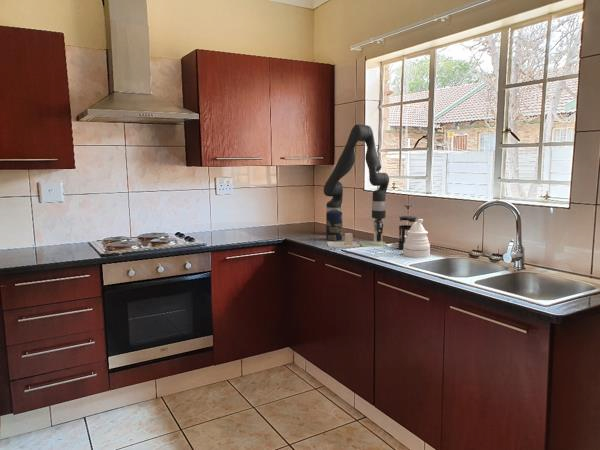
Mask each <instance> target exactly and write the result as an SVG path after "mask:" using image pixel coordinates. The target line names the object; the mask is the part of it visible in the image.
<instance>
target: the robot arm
mask: <svg viewBox="0 0 600 450" xmlns="http://www.w3.org/2000/svg"><path fill="white" fill-rule="evenodd" d="M358 142H364V143H365V145H366V147H367V148H366V152H365V156H364V157H365V162H366V165H367V168H368V175H369V176H368V177H369V178H368V180H369V184H371V186H373V187H378V189H375V190H373V192H372V199H371V200H372V202H371V203H372V204H371V218H372V219H374V220H373V227H374V230H373V232H374V231H377V241H381V234H382V232H384V231H383V229H384V222H383V219H386V218H387V217H386V215H387V214H386V208H387V207H386V206H387V205H386V203H387V202H386V196H387V195H386V194H387V190H388V186H389V183H390V176H389V175H388V173H386V172H379V171H380V170H381V169H382V164H381V161H380V158H379V156H378V152H377V149H376V142H375V137H374V132H373V129H372V127H371V126H370V125H367V124H355V125H353V127H352V129H351V130H350V132H349V135H348V139H347V141H346V143H345V146H344V149H343V151H342V152H341V154H340V155H339V158H338V160H337V162H336V165H335V166H334V168H333V170H332V172H331V173H330V175H329V178H328V179H327V181H326V182H325V183H324V186H323V193H324V195H325V197H332V198H331V199H330V200H328V201H327V202H326V209H325V210H326V211H325V212H326V213H327V212H328V211H331V210H333V211H335V210H338V211H341V212H342V203H343V197H344V195H343V194H344V187H343V184H342V183H341V182H340V180H341V179H342V178H344V177H345V176H346V175H347V174H348V173H350V171H351V170H352V168H353V166H354V164H355V162H356V153H355V148H356V146H357V143H358Z"/></svg>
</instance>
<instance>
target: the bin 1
mask: <svg viewBox="0 0 600 450" xmlns="http://www.w3.org/2000/svg"><path fill="white" fill-rule="evenodd" d="M326 244H327V246H328V247H329V248H333V247H334V248H335V247H337V248H338V247H339V248H340V247H345V248H347V247H349V248H350V247H352V248H353V247H361V245H360V244H359V243H358V242H357V241H353V245H345V244H344V241H326Z"/></svg>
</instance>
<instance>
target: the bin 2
mask: <svg viewBox="0 0 600 450" xmlns="http://www.w3.org/2000/svg"><path fill="white" fill-rule="evenodd" d="M357 243H358V244H359V245H360V247H387V248H388V246H389V245H388V244H387V243H386V242H384V241H383V240H382V243H375V242H374V240H373V241H372V240H371V241H368V240H367V241H358V242H357Z"/></svg>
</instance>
